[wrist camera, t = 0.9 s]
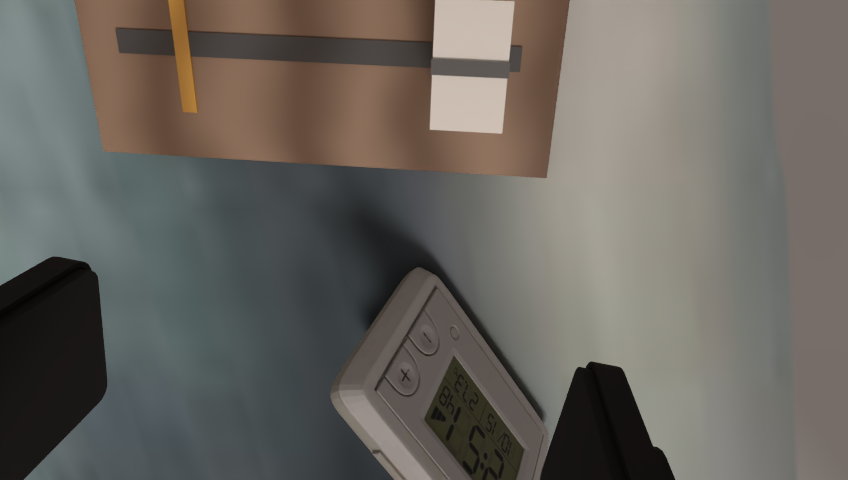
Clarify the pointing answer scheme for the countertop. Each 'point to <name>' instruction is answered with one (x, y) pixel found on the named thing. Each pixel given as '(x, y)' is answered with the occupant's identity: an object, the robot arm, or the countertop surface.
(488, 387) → the digital clock
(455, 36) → the fader knob
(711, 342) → the countertop surface
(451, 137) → the console board
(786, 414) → the countertop surface
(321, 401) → the countertop surface
